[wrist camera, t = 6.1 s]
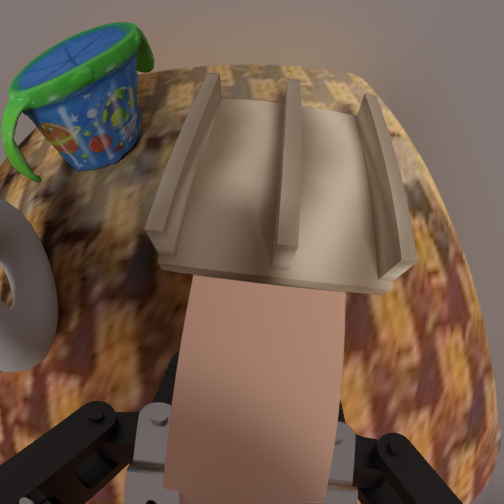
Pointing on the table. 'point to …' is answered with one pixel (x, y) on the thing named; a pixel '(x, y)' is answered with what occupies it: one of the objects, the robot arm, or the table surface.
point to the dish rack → (283, 195)
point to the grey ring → (25, 294)
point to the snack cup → (82, 97)
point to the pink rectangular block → (255, 394)
